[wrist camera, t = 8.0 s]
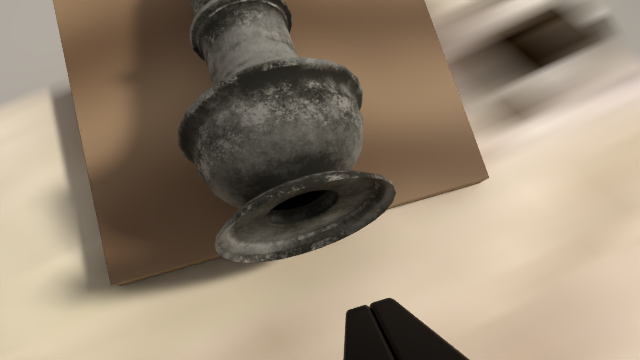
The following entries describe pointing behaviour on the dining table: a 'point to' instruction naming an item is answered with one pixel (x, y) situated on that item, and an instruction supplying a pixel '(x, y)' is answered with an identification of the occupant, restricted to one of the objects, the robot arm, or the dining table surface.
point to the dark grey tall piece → (276, 135)
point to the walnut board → (193, 79)
